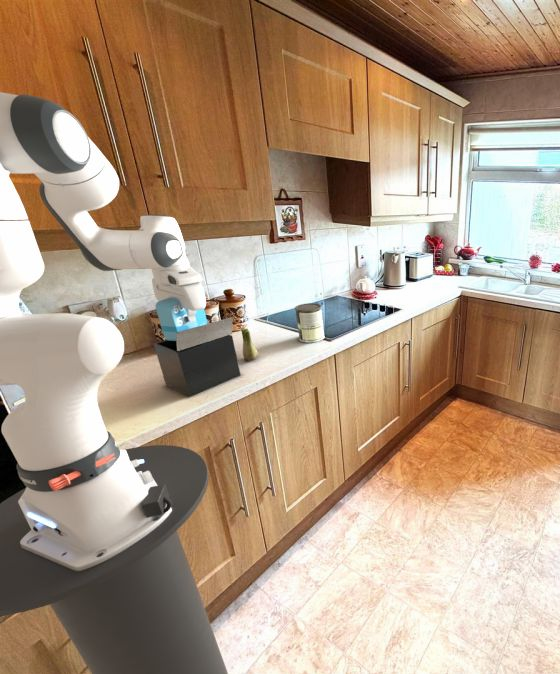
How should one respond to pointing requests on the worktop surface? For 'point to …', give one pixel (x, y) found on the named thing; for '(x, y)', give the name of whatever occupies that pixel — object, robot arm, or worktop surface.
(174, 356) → the black box
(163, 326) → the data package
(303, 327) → the coffee can
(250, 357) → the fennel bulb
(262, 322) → the worktop surface
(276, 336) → the worktop surface
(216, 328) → the flap
